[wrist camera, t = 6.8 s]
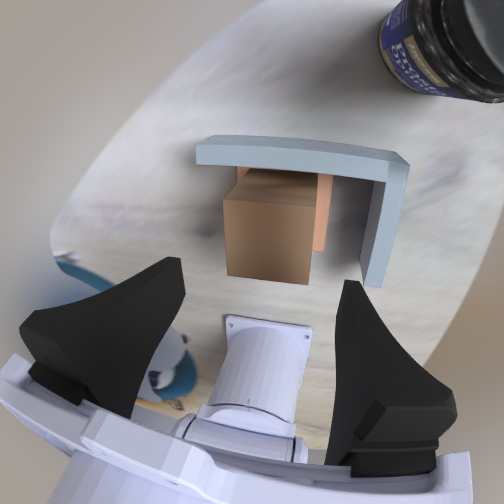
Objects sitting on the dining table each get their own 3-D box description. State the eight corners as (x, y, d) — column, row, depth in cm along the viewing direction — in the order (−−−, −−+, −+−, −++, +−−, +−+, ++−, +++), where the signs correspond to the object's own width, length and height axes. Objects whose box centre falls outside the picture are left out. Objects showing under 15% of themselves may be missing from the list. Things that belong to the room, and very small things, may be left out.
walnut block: (318, 173, 19) (316, 207, 14) (313, 234, 21) (308, 285, 16) (250, 168, 19) (222, 199, 14) (251, 228, 22) (227, 275, 17)
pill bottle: (363, 65, 14) (415, 34, 5) (392, -7, 11) (452, -84, 2) (445, 112, 14) (552, 150, 5) (472, 42, 11) (580, 29, 2)
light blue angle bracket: (374, 259, 21) (380, 288, 18) (219, 240, 23) (203, 265, 20) (395, 152, 17) (409, 165, 14) (215, 135, 19) (195, 144, 16)
